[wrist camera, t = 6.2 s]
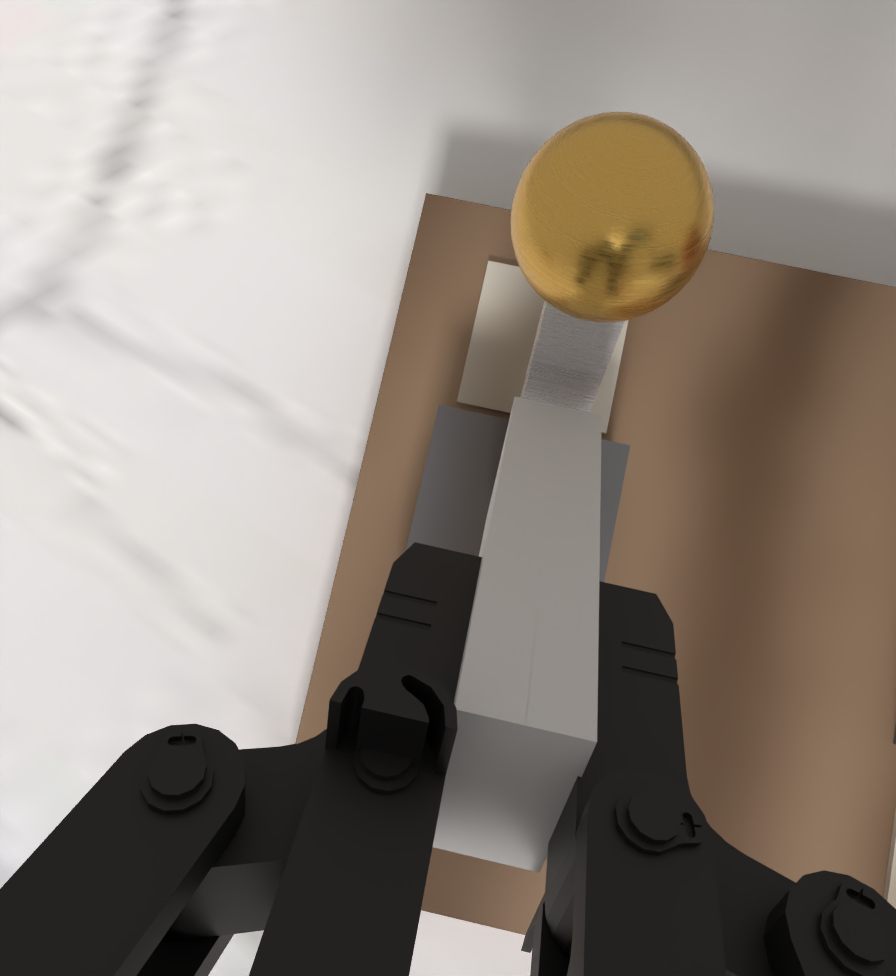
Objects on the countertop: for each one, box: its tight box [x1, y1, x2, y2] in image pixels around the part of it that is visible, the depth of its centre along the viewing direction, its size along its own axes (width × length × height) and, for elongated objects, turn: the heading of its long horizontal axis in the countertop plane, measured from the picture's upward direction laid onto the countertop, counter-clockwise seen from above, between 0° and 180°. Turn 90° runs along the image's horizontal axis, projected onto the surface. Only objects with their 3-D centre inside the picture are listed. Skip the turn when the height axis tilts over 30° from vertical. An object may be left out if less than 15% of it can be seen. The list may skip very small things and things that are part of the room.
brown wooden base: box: [295, 193, 896, 935], centre depth 22 cm, size 23×20×6 cm
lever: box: [510, 112, 714, 412], centre depth 15 cm, size 3×3×11 cm
